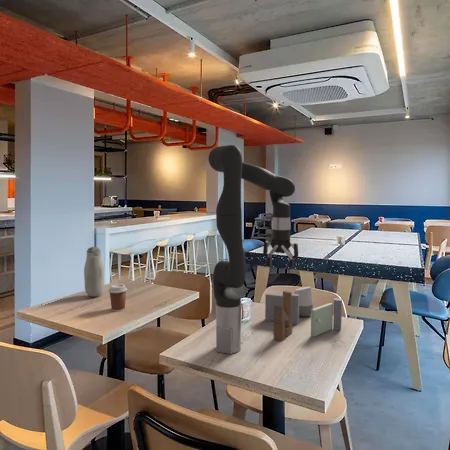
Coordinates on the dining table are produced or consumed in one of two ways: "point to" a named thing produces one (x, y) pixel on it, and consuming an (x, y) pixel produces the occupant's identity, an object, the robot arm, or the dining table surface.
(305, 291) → the smart speaker
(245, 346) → the dining table surface
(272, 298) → the wall frame
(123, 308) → the coffee cup
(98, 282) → the beige bottle
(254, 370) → the dining table surface
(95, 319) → the dining table surface
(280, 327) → the wooden block
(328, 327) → the door
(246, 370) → the dining table surface
